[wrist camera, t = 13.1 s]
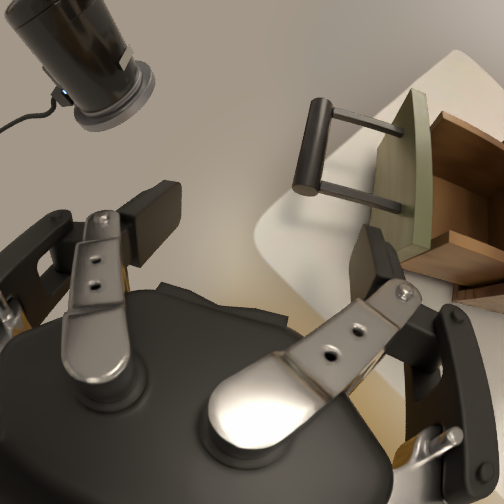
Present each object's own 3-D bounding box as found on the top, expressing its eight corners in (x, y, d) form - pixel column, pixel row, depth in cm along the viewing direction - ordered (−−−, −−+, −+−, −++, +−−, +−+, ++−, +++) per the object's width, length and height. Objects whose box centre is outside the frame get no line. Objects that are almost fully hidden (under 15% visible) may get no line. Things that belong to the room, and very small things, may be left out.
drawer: (280, 249, 22) (284, 209, 14) (307, 130, 24) (318, 60, 16) (482, 300, 20) (547, 290, 11) (484, 191, 22) (534, 156, 13)
